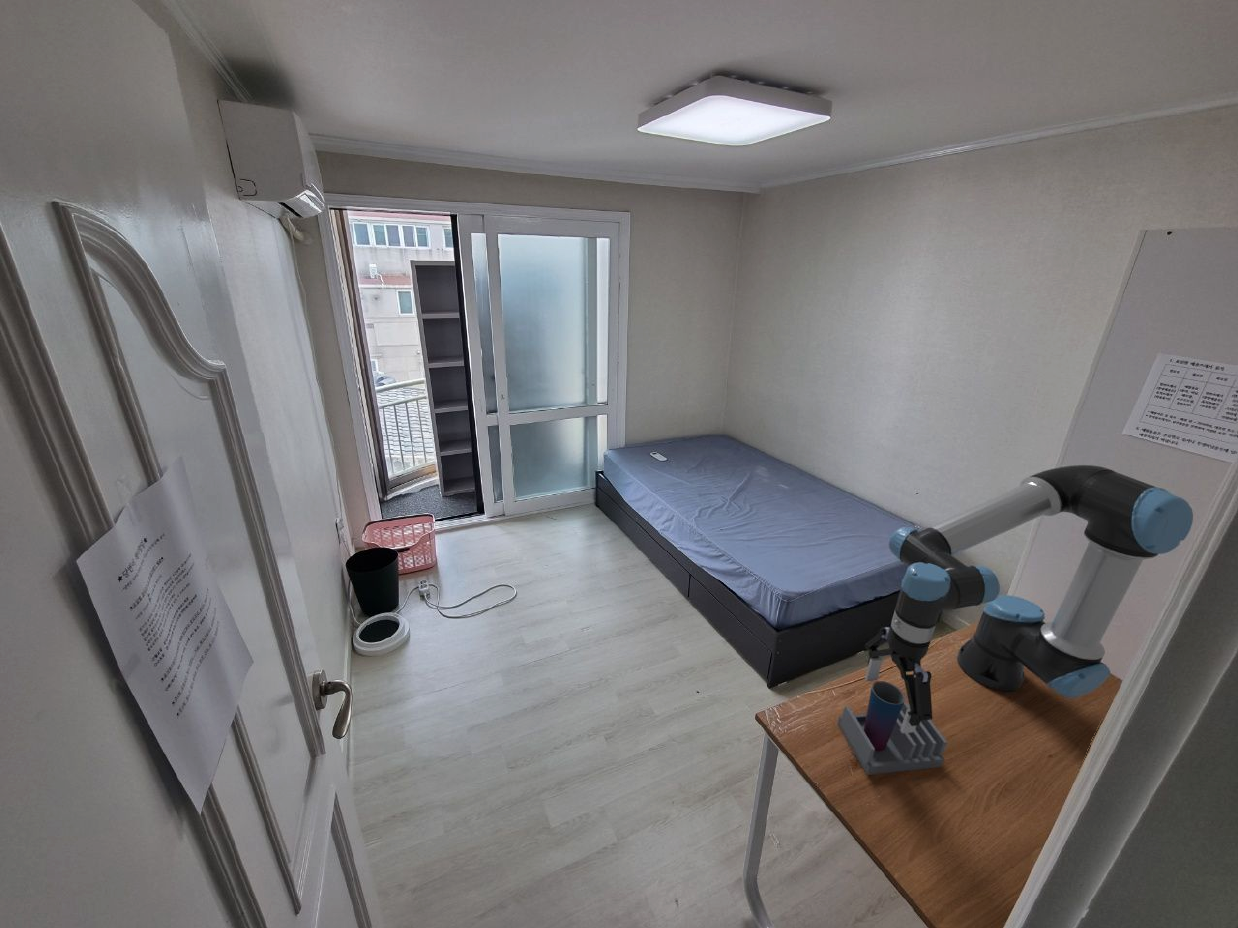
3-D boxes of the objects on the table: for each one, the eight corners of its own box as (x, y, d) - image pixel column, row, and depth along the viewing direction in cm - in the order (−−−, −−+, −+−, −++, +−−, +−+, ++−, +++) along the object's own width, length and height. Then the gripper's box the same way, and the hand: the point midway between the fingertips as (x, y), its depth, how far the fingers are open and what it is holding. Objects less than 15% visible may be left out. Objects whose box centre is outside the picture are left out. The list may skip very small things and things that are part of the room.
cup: (893, 757, 113) (909, 707, 108) (862, 751, 114) (876, 701, 109) (885, 732, 120) (899, 683, 114) (855, 726, 121) (868, 678, 116)
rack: (905, 716, 125) (912, 696, 122) (941, 766, 113) (950, 745, 110) (837, 723, 123) (843, 702, 120) (866, 774, 111) (873, 753, 108)
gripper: (860, 593, 114) (843, 662, 123) (934, 682, 91) (907, 758, 100) (891, 591, 115) (872, 659, 124) (972, 678, 92) (942, 754, 101)
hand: (887, 703), depth 112 cm, fingers open, 13 cm apart
